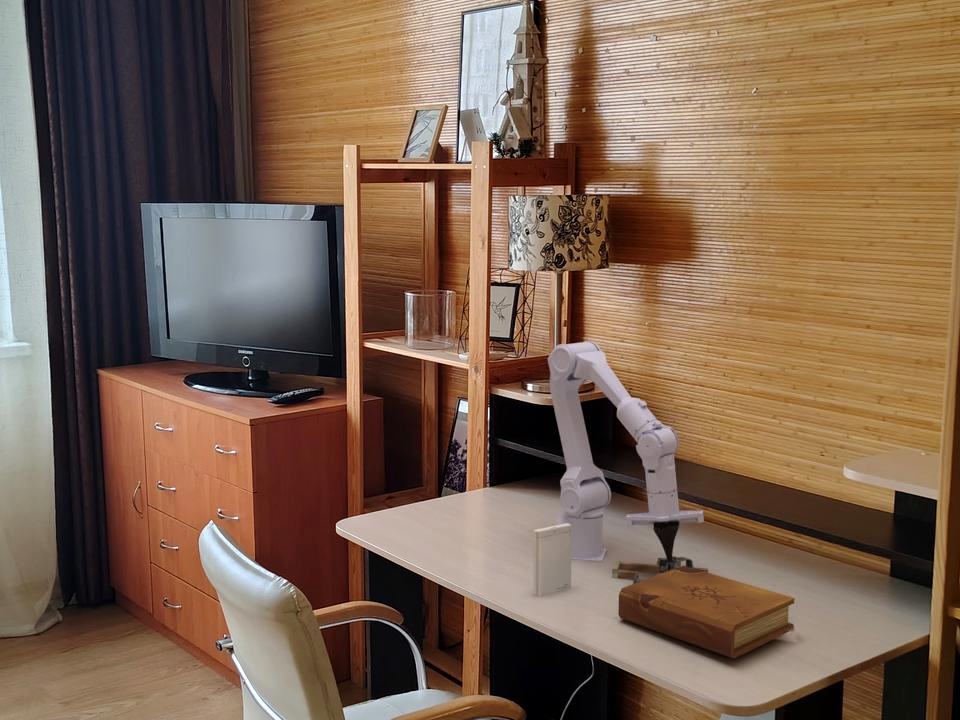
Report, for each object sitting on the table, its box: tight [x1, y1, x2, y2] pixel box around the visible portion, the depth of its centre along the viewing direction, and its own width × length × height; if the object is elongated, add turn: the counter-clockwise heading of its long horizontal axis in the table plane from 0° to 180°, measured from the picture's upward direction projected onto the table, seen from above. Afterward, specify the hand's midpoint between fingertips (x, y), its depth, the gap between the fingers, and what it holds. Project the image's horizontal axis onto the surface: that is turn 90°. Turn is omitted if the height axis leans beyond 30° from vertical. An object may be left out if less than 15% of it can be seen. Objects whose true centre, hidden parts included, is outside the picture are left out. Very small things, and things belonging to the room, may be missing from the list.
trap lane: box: [611, 557, 709, 584], centre depth 205 cm, size 18×15×2 cm
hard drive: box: [533, 523, 572, 598], centre depth 196 cm, size 2×8×12 cm, turn 125°
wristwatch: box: [666, 555, 695, 572], centre depth 204 cm, size 3×5×5 cm, turn 111°
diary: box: [617, 565, 796, 659], centre depth 182 cm, size 23×19×6 cm
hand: (668, 560), depth 203 cm, fingers closed, pressing on wristwatch
